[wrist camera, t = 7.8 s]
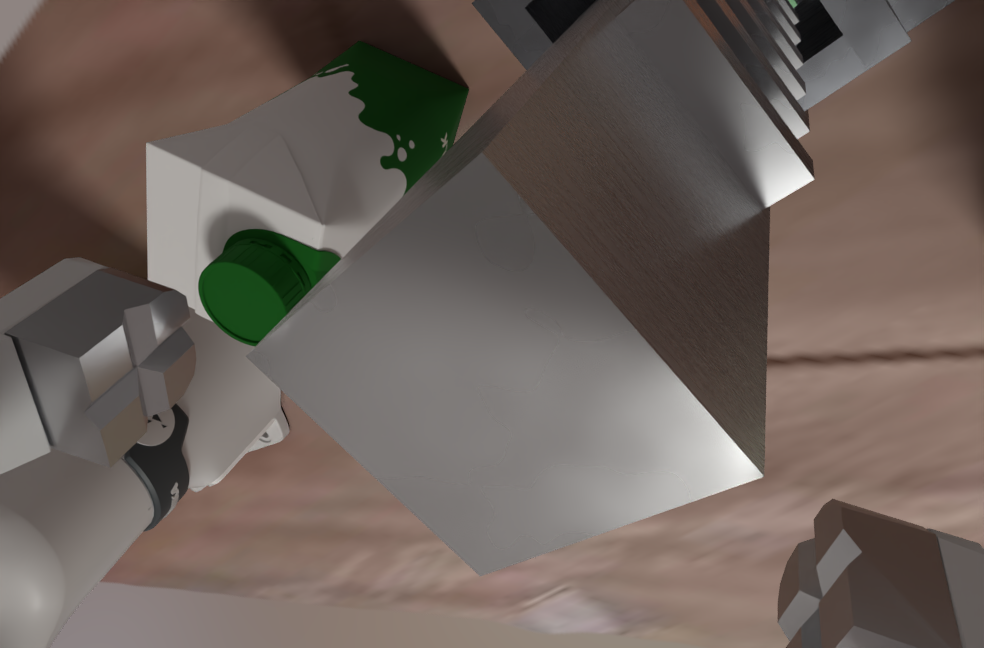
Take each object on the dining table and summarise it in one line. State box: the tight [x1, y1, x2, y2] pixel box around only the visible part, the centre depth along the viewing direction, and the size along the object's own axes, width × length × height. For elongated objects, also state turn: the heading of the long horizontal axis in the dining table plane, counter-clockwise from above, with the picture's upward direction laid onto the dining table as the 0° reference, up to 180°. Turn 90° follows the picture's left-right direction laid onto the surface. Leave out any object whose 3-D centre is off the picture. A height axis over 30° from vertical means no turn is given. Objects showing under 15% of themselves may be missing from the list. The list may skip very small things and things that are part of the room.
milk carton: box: [146, 41, 469, 346], centre depth 36 cm, size 9×9×20 cm
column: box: [245, 0, 814, 576], centre depth 18 cm, size 6×5×24 cm
